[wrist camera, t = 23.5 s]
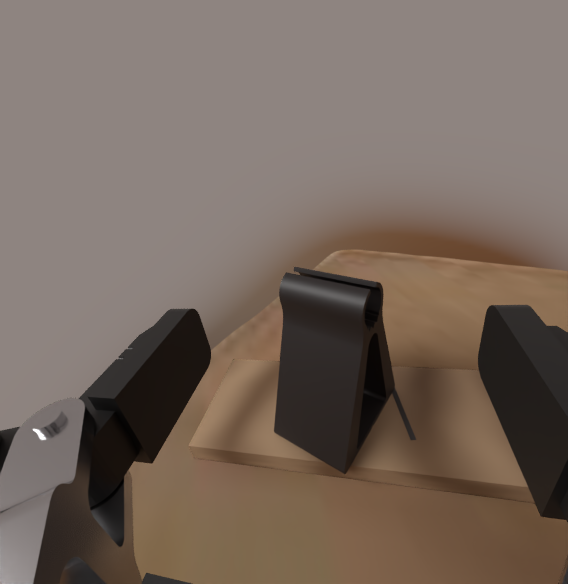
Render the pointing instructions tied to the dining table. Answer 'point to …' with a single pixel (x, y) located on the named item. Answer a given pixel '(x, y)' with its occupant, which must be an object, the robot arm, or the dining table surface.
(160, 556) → the dining table surface
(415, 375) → the oak board
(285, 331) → the phone stand
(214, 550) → the dining table surface
